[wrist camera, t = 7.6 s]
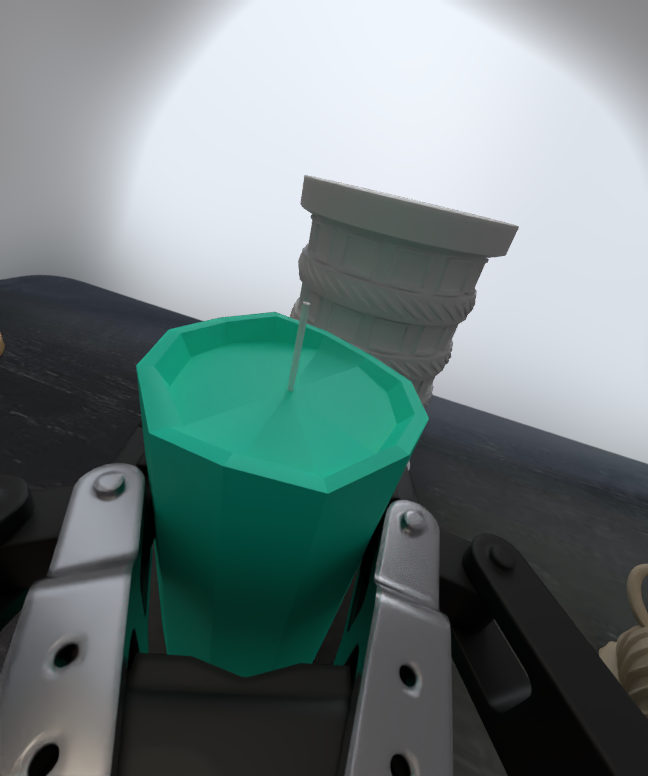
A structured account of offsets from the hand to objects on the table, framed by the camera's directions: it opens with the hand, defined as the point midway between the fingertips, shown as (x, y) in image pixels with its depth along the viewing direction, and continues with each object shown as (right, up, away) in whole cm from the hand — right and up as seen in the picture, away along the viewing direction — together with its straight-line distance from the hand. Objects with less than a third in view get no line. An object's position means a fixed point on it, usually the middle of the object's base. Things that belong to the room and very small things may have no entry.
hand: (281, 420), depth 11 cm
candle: (-1, -7, +2) cm, 8 cm away
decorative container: (+2, -4, +16) cm, 16 cm away
